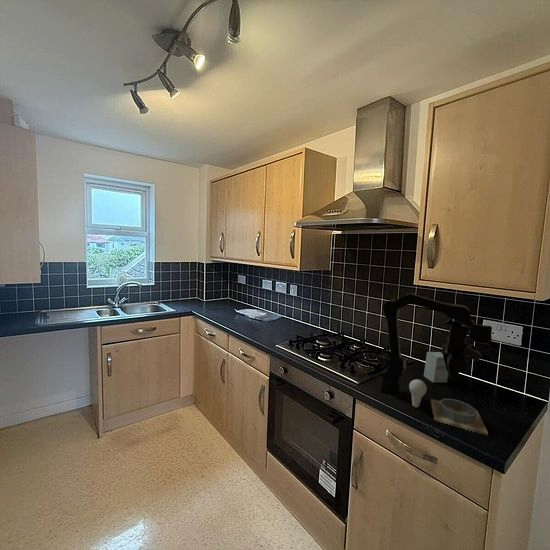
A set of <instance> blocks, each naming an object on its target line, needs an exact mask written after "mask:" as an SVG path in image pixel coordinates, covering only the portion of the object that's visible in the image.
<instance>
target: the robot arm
mask: <svg viewBox="0 0 550 550" xmlns="http://www.w3.org/2000/svg"><path fill="white" fill-rule="evenodd" d="M410 304H412V305H416V306H418V307H422V308H425V309H428V310H432V311H435V312H438V313H441V314H444V315H445V316H447V317H448V318H449V319H448V320H445V325H448V326H450V327H449V331H448V336H447V337H446V341H447V343H444V344H442V345H441V353H442V354H443V358H444V361H445V365H446V369H447V372H448V375H449V378H450V381H451V382H455V381H456V379H457V378H458V376H459V374H460V372H461V371H462V370H463V371H464V370H467V369H469V365H470V363H469V361H468V359H466V357H467V358H469V359H472V360H473V361H474V362H476V363H478V362H479V361H480V359H481V358H482V357H483V354H482V353H481V352H480V351H479V350H477V346H476V345H474V344H469V345H468V343H467V342H466V341H467V335H468V338H469V339H470V340H471V342H474V343H475V342H476V343H480V344H485V345H491V342H492V338H493V336H492V332H493V331H492V330H493V327H492V326H491V325H488V324H487V325H484V324H479V323H475V321H474V320H473V319H472V317H471V311H470V308H469V307H468V306H466V305H465V304H457V303H447V302H442V301H439V300H435V299H432V298H429V297H425V296H422V295H418V294H416V293H414V292H408V293H407V294H406V295H403V296H401V297H399V298H396V299H389V300H387V301H385V303H383V305H382V310H383V314H384V317H385V319H386V321H387V331H388V343H389V354H390V355H389V360H388V366H387V367H385V368H384V371H383V372H382V374H381V375H382V379H381V381H382V382H381V388H380V392H381V393H384V394H389V395H392V396H393V395H394V396H398V393H399V390H400V383H401V382H400V380H399V379H400V378H401V377H402V376H403V374H404V373H405V371H406V368H407V366H408V365H407V363H406V359H407V358H406V357H403V355H402V353H401V342H400V330H399V316H400V311H401V310H400V309H402V308H403V307H405V306H407V305H410ZM462 323H463V324H462ZM468 330H469V332H468Z"/></svg>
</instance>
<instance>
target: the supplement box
mask: <svg viewBox="0 0 550 550" xmlns="http://www.w3.org/2000/svg"><path fill="white" fill-rule="evenodd" d="M448 375H449V372H447V369H446V365H445V361H444V358H443V354H442V351H441V352H440V351H437V352H436V351H427V352H426V358H425V365H424V372H423V377H424V378H426V379H427V380H429V381H430V382H431V383H432V384H433V383H448Z"/></svg>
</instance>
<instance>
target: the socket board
mask: <svg viewBox="0 0 550 550" xmlns="http://www.w3.org/2000/svg"><path fill="white" fill-rule="evenodd" d="M430 406H431V410H432V415H434V417H433V421H434V420H435V421H437V422H440V423H444V424H448V425H451V426H455V427H458V428H462V429H465V430H464V431H466V430H469V431H468V432H470V431H472V432H471V433H474V432H476V433H475V434H477V433H479V434H478V435H481V434H484V435H483V436H485V435H487V436H486V437H488V436H489V432H488V430H487V427H486V426H485V424H484V421H483V420H482V416H481V415H480V414H479V411H478V409H475V408H474V407H473V406H472V405H470V404H469V403H466V402H464V401H462V400H458V399H453V398H442V399H440V400H437V399H432V398H431V399H430ZM451 426H450V427H451ZM455 427H454V428H455ZM458 428H457V429H458ZM462 429H461V430H462Z"/></svg>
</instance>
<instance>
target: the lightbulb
mask: <svg viewBox="0 0 550 550" xmlns="http://www.w3.org/2000/svg"><path fill="white" fill-rule="evenodd" d="M408 387H409V388H408V389H409V391H410V393H411V401H412V402H411V403H412V404H411V405H412V406H413V407H414V408H419V407H420V404H421V401H422V398H423V396H425V394H426V393H427V391H428V390H427V385H426V384H425V382H424V381H422V380H421V379H413V380H412V381H410V382H409V385H408Z"/></svg>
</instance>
